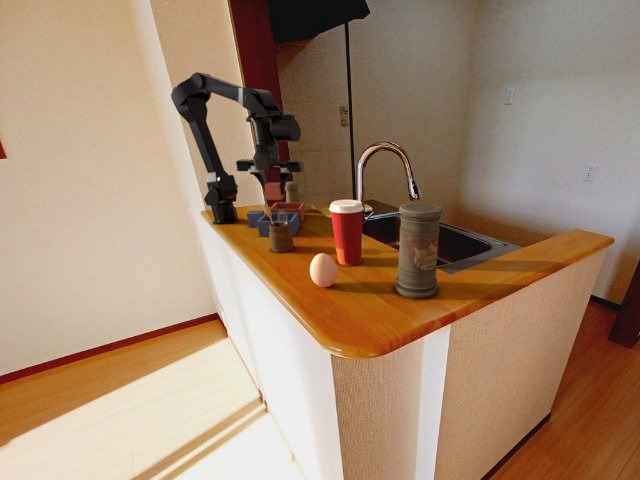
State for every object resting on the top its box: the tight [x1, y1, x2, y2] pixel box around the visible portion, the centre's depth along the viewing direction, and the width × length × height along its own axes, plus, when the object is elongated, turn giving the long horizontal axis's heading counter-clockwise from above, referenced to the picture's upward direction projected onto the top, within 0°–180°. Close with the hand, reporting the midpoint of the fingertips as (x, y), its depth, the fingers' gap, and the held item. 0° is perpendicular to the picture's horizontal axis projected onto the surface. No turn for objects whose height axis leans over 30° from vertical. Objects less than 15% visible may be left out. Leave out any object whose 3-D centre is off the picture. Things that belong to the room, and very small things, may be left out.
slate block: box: [246, 210, 265, 228], centre depth 108 cm, size 4×4×4 cm
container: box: [394, 202, 443, 299], centre depth 66 cm, size 9×9×18 cm
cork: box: [285, 181, 301, 203], centre depth 124 cm, size 6×6×11 cm
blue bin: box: [257, 212, 301, 237], centre depth 103 cm, size 11×11×5 cm
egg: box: [309, 252, 338, 288], centre depth 69 cm, size 6×6×8 cm
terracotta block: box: [264, 182, 285, 201], centre depth 100 cm, size 4×4×4 cm
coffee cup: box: [328, 199, 365, 267], centre depth 79 cm, size 8×8×15 cm
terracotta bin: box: [269, 201, 307, 223], centre depth 116 cm, size 11×11×5 cm
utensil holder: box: [263, 204, 294, 253], centre depth 87 cm, size 6×6×12 cm
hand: (275, 194), depth 101 cm, fingers closed on terracotta block, 4 cm apart
